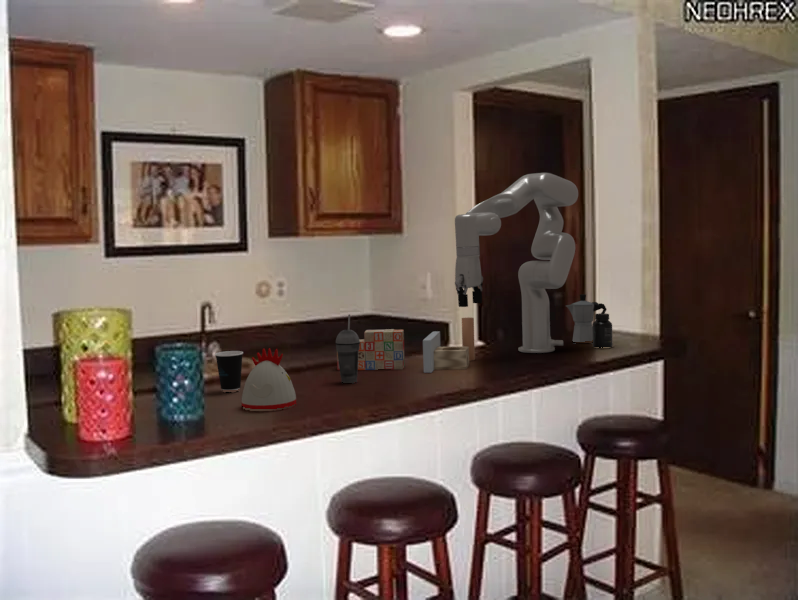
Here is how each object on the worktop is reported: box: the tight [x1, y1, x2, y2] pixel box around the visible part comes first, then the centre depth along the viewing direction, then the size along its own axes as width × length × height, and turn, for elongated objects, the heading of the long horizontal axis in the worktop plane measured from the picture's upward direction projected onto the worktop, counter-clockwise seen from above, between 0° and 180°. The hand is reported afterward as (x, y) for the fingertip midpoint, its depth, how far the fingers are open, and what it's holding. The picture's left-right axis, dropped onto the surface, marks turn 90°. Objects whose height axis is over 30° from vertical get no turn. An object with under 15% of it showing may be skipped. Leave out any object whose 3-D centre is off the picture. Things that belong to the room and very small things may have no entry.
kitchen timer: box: [241, 347, 297, 409], centre depth 213 cm, size 14×14×15 cm
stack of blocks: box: [336, 328, 406, 371], centre depth 267 cm, size 21×6×12 cm, turn 85°
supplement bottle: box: [592, 312, 613, 348], centre depth 295 cm, size 7×7×12 cm
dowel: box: [461, 316, 476, 362], centre depth 277 cm, size 4×4×14 cm
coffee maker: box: [565, 294, 607, 342], centre depth 309 cm, size 15×9×18 cm, turn 80°
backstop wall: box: [422, 330, 441, 374], centre depth 266 cm, size 2×22×10 cm, turn 170°
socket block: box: [433, 346, 470, 371], centre depth 265 cm, size 10×10×6 cm
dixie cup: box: [214, 350, 244, 391], centre depth 235 cm, size 8×8×11 cm
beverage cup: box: [334, 314, 360, 384], centre depth 243 cm, size 7×7×20 cm
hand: (470, 304), depth 271 cm, fingers open, 9 cm apart
